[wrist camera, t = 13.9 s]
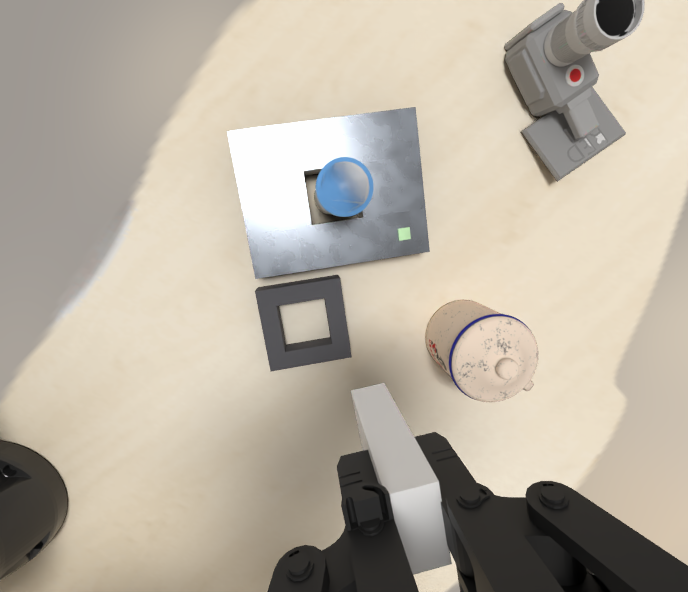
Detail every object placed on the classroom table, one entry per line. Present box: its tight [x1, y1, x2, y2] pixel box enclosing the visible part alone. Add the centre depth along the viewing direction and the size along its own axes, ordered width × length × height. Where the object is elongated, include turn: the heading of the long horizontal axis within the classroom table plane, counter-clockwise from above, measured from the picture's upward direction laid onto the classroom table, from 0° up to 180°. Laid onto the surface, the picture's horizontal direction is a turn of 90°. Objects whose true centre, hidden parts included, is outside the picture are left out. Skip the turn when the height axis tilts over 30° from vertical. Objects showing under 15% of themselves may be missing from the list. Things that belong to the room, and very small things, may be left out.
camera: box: [505, 0, 644, 181], centre depth 37 cm, size 9×12×15 cm
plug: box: [314, 157, 373, 217], centre depth 35 cm, size 4×4×14 cm
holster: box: [255, 275, 352, 371], centre depth 43 cm, size 9×9×2 cm
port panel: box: [227, 107, 430, 279], centre depth 40 cm, size 18×14×4 cm
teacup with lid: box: [426, 300, 538, 402], centre depth 41 cm, size 12×9×12 cm
